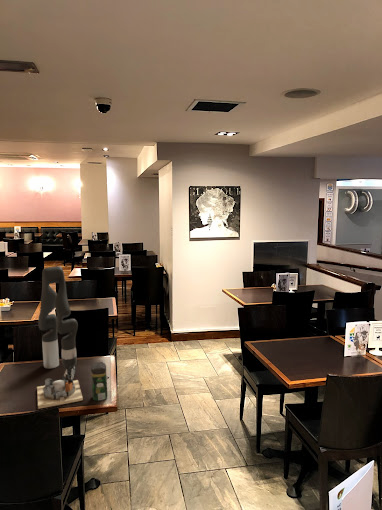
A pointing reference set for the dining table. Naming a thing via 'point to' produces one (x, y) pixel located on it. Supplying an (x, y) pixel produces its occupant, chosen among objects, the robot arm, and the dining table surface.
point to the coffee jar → (99, 381)
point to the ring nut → (51, 394)
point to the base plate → (58, 387)
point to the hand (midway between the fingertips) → (70, 385)
